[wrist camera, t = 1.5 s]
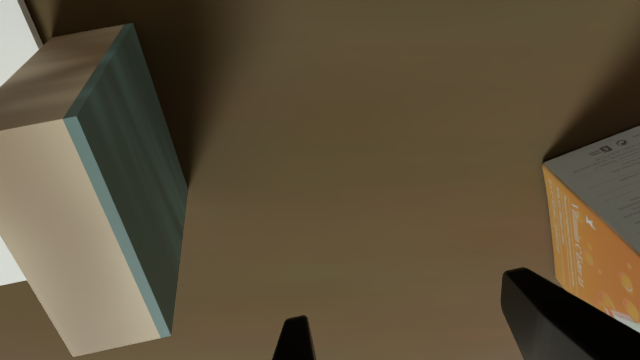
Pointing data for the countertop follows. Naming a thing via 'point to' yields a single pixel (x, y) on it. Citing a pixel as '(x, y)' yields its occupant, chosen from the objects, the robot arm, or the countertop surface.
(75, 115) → the beige and teal box
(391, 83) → the countertop surface
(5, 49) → the flat white panel
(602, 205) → the small box
